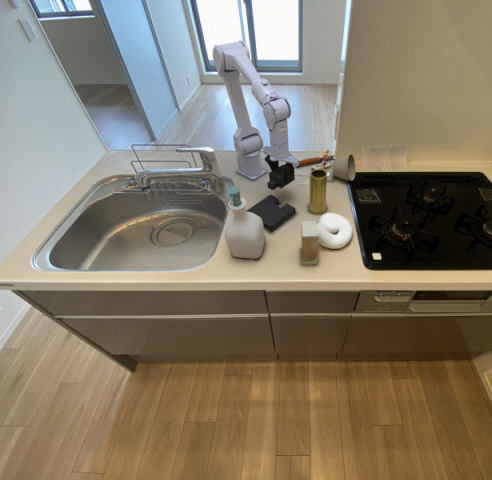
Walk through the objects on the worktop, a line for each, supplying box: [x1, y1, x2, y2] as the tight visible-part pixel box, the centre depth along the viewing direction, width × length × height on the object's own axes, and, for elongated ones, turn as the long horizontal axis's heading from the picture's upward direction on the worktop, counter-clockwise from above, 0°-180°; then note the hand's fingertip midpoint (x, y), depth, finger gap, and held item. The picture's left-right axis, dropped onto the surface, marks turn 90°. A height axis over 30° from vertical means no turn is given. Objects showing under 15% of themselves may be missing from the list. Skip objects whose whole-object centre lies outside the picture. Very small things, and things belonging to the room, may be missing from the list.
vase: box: [308, 169, 328, 214], centre depth 94 cm, size 6×6×14 cm
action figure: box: [321, 149, 331, 178], centre depth 111 cm, size 12×3×9 cm, turn 169°
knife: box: [296, 154, 335, 168], centre depth 120 cm, size 26×3×5 cm
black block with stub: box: [266, 164, 296, 191], centre depth 96 cm, size 6×10×4 cm, turn 140°
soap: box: [310, 161, 333, 170], centre depth 117 cm, size 10×4×1 cm, turn 129°
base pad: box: [246, 194, 297, 233], centre depth 96 cm, size 12×12×2 cm
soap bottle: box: [224, 186, 267, 260], centre depth 77 cm, size 10×10×23 cm
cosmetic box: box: [300, 219, 319, 265], centre depth 79 cm, size 6×4×12 cm
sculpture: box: [317, 212, 354, 250], centre depth 87 cm, size 12×15×8 cm
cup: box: [331, 153, 356, 182], centre depth 109 cm, size 10×10×7 cm
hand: (282, 177), depth 97 cm, fingers closed on black block with stub, 5 cm apart
